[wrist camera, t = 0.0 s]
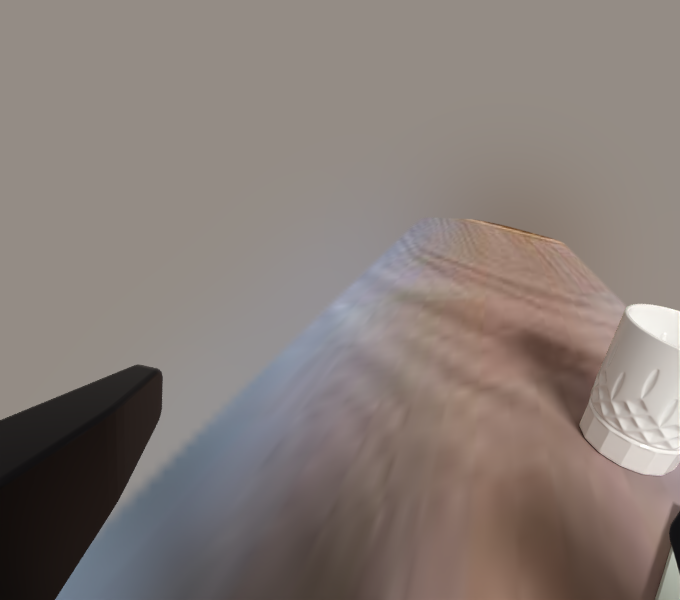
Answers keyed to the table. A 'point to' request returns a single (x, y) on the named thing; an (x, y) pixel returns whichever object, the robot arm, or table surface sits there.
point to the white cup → (639, 393)
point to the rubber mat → (669, 580)
